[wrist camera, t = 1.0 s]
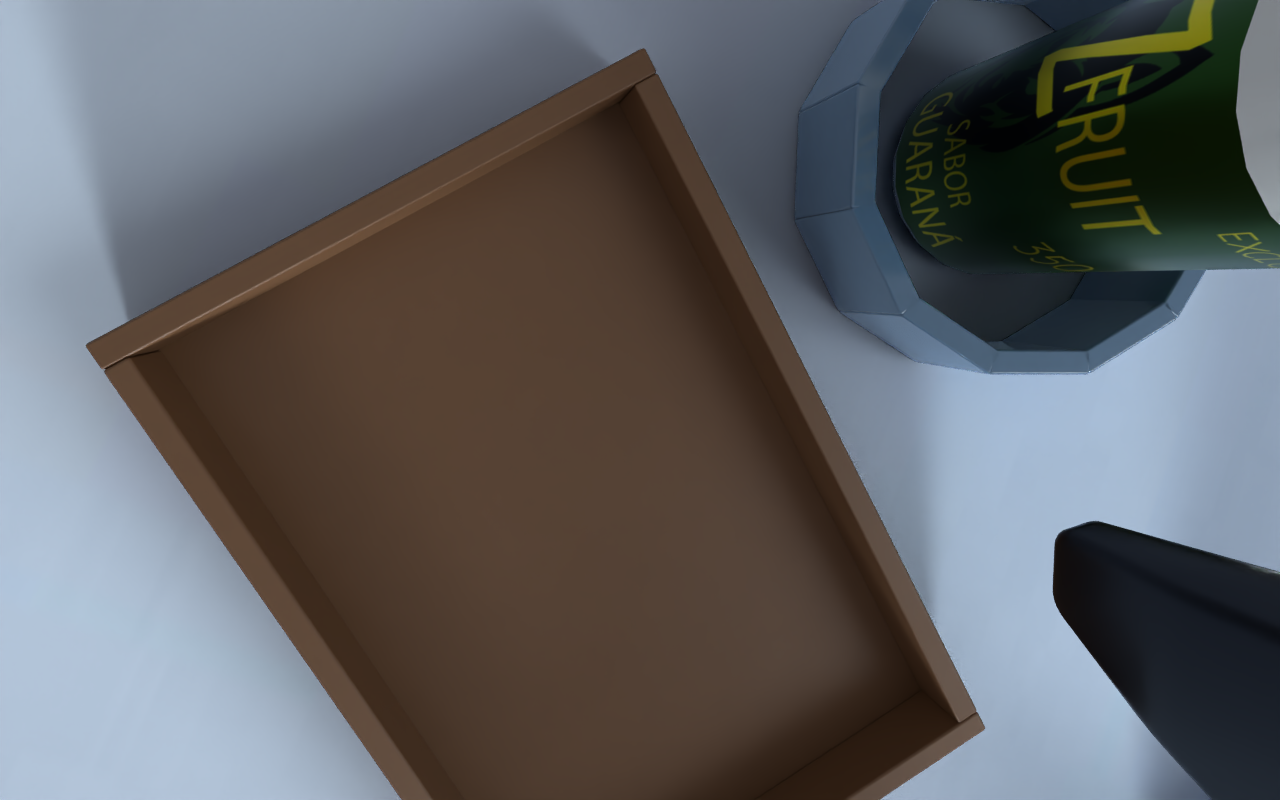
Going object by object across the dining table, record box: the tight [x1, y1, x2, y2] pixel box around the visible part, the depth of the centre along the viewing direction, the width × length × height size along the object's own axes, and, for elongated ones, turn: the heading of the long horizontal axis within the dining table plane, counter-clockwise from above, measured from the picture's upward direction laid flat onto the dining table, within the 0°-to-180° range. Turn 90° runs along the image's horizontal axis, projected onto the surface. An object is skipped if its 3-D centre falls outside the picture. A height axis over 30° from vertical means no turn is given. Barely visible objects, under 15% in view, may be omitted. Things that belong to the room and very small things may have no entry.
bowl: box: [795, 0, 1206, 374], centre depth 22 cm, size 10×10×4 cm
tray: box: [86, 48, 985, 800], centre depth 22 cm, size 19×13×3 cm
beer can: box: [893, 0, 1280, 274], centre depth 18 cm, size 5×5×12 cm
